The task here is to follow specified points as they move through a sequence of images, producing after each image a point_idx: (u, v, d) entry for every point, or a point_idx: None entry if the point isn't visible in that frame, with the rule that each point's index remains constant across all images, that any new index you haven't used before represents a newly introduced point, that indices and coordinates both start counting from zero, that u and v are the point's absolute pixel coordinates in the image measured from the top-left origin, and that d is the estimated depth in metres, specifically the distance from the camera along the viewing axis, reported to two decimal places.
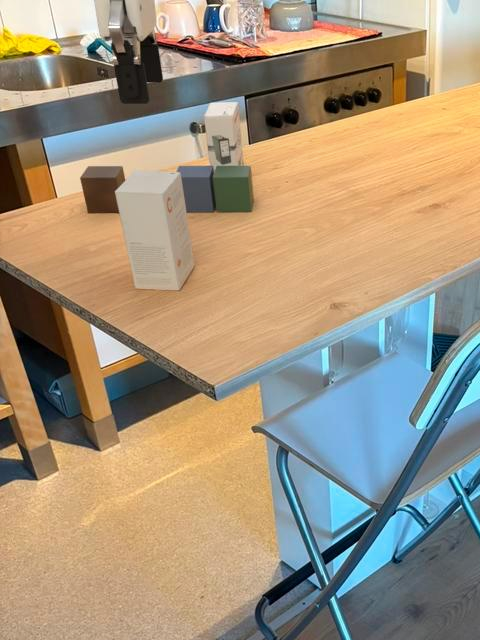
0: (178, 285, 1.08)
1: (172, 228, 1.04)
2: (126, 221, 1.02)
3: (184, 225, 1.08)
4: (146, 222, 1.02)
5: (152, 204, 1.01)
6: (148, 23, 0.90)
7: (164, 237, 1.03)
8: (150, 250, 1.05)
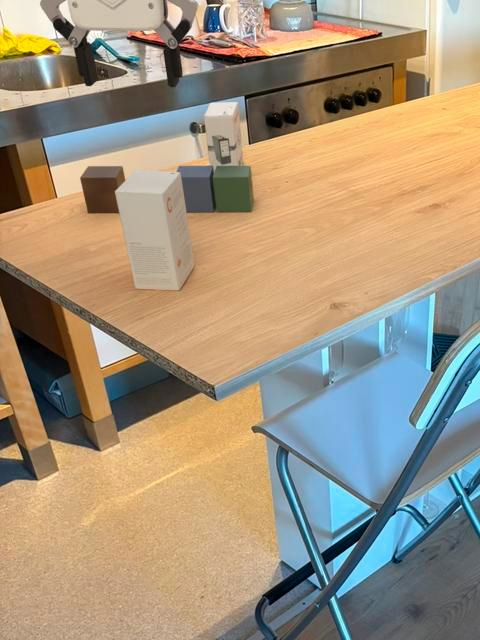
0: (178, 285, 1.08)
1: (172, 228, 1.04)
2: (126, 221, 1.02)
3: (184, 225, 1.08)
4: (146, 222, 1.02)
5: (152, 204, 1.01)
6: None
7: (164, 237, 1.03)
8: (150, 250, 1.05)
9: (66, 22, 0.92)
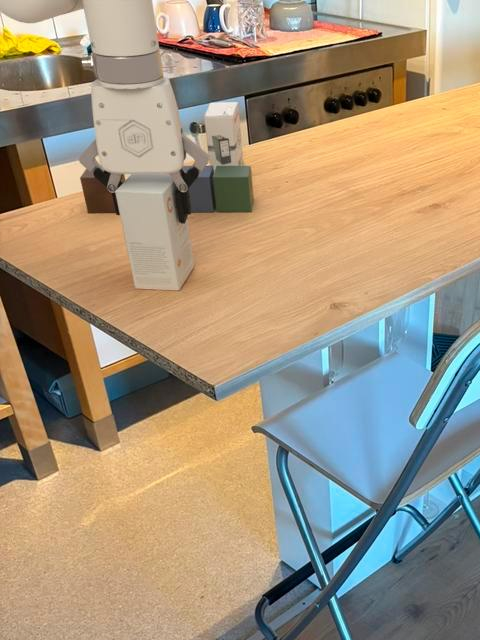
0: (178, 285, 1.08)
1: (173, 228, 1.04)
2: (126, 221, 1.02)
3: (184, 225, 1.08)
4: (146, 222, 1.02)
5: (152, 204, 1.01)
6: None
7: (164, 237, 1.03)
8: (150, 250, 1.05)
9: (104, 170, 1.02)
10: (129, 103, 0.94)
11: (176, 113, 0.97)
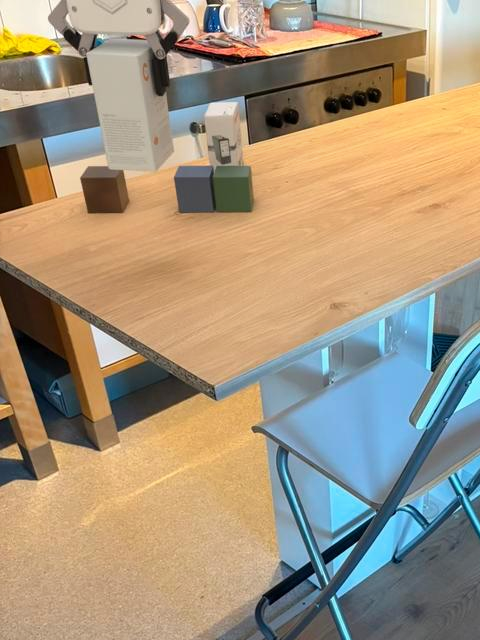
0: (155, 165, 1.00)
1: (149, 99, 0.96)
2: (98, 89, 0.95)
3: (162, 101, 1.01)
4: (120, 90, 0.95)
5: (126, 68, 0.93)
6: None
7: (140, 108, 0.96)
8: (124, 123, 0.97)
9: (76, 33, 0.95)
10: None
11: None
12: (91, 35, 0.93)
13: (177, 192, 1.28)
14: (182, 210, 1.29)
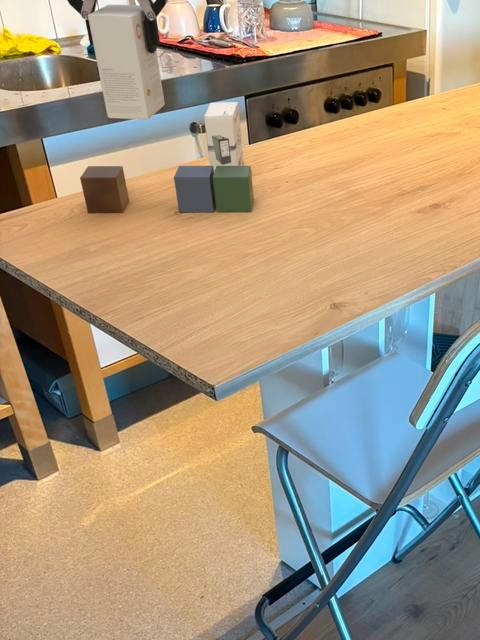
0: (148, 114, 1.16)
1: (142, 55, 1.12)
2: (98, 46, 1.11)
3: (153, 58, 1.17)
4: (117, 47, 1.11)
5: (122, 27, 1.09)
6: None
7: (134, 62, 1.12)
8: (121, 76, 1.13)
9: None
10: None
11: None
12: (92, 0, 1.09)
13: (177, 192, 1.28)
14: (182, 210, 1.29)
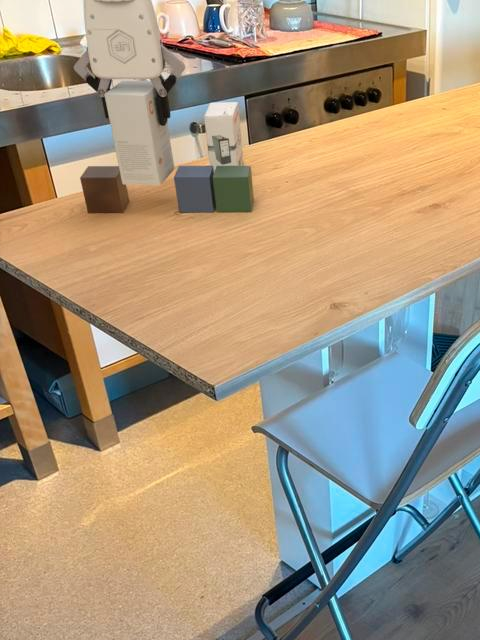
0: (160, 180, 1.25)
1: (154, 128, 1.21)
2: (114, 121, 1.20)
3: (164, 129, 1.25)
4: (131, 122, 1.20)
5: (136, 105, 1.18)
6: None
7: (147, 136, 1.21)
8: (135, 148, 1.22)
9: (95, 77, 1.20)
10: (115, 14, 1.12)
11: (156, 25, 1.14)
12: (108, 79, 1.18)
13: (177, 192, 1.28)
14: (182, 210, 1.29)
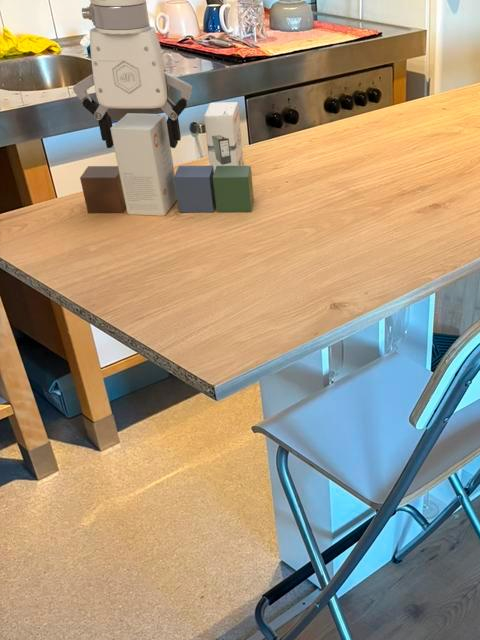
0: (164, 210, 1.28)
1: (159, 160, 1.24)
2: (120, 154, 1.23)
3: (169, 160, 1.28)
4: (136, 155, 1.23)
5: (141, 138, 1.21)
6: None
7: (152, 168, 1.24)
8: (140, 179, 1.25)
9: (92, 101, 1.21)
10: (121, 46, 1.14)
11: (160, 56, 1.17)
12: None
13: (177, 192, 1.28)
14: (182, 210, 1.29)
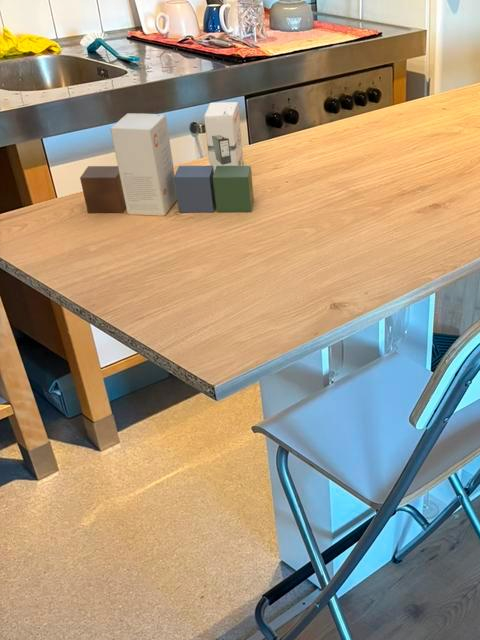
0: (164, 210, 1.28)
1: (159, 160, 1.24)
2: (120, 154, 1.23)
3: (169, 160, 1.28)
4: (136, 155, 1.23)
5: (141, 138, 1.21)
6: None
7: (152, 168, 1.24)
8: (140, 179, 1.25)
9: None
10: None
11: None
12: None
13: (177, 192, 1.28)
14: (182, 210, 1.29)
